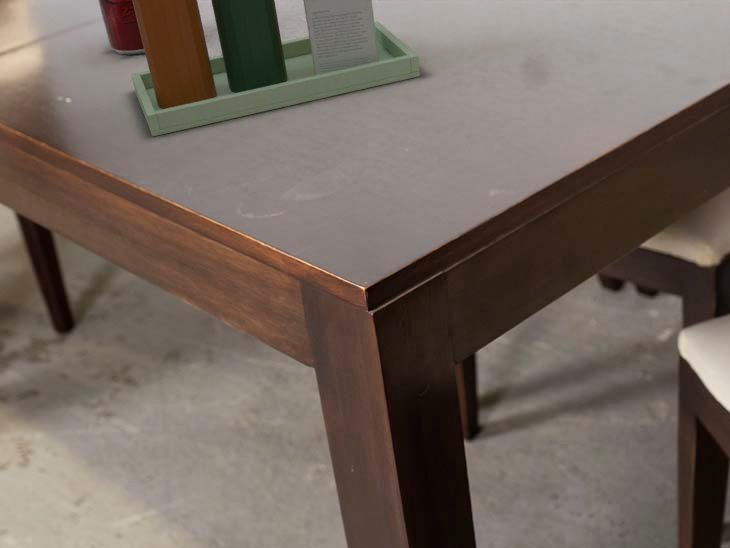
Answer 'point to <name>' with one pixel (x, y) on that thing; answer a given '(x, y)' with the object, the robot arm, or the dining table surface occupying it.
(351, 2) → the small box
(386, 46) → the tray
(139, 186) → the dining table surface
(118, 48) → the soda can
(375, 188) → the dining table surface
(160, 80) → the amber bottle
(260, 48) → the green bottle
